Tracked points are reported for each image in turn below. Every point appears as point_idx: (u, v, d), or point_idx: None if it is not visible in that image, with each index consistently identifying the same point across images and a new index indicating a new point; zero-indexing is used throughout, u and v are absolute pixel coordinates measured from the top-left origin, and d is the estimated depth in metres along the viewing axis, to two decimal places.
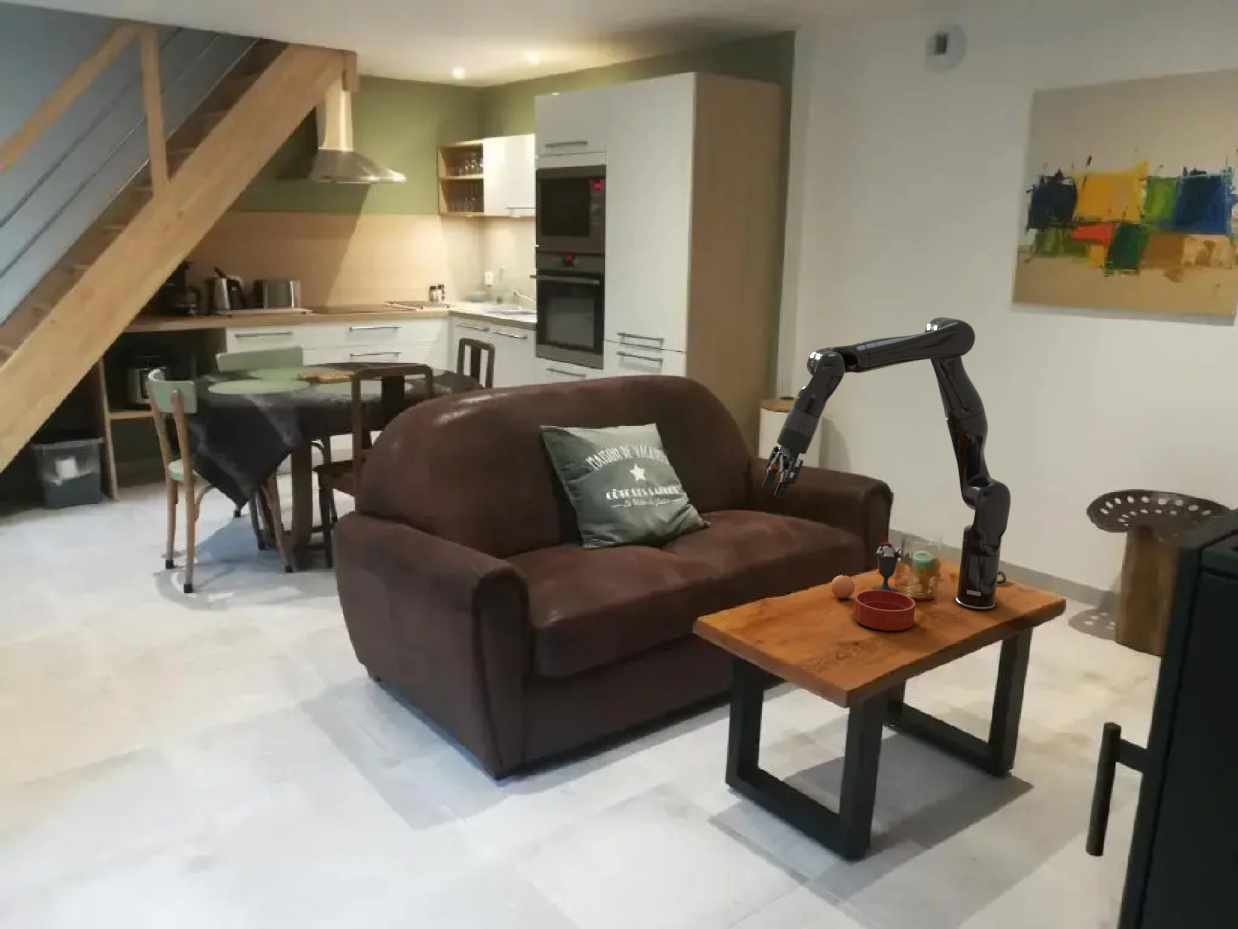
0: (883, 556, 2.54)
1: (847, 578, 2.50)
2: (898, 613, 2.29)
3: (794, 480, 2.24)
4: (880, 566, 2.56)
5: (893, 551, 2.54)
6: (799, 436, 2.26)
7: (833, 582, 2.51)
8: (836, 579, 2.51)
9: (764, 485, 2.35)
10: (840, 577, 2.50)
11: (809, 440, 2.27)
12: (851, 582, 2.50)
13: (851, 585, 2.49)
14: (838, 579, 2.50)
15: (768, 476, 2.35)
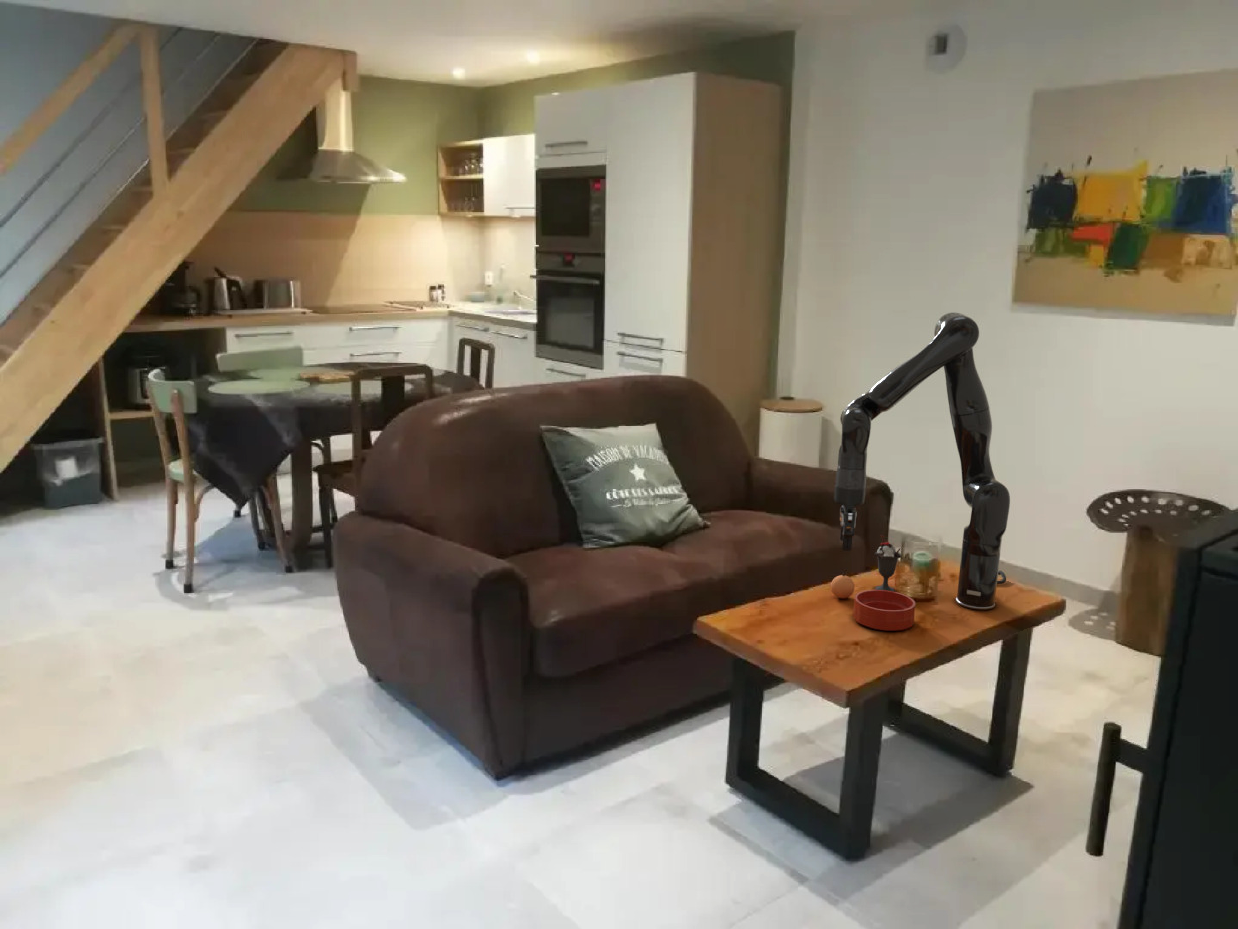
0: (883, 556, 2.54)
1: (847, 578, 2.50)
2: (898, 613, 2.29)
3: (852, 533, 2.41)
4: (880, 566, 2.56)
5: (893, 551, 2.54)
6: (847, 491, 2.42)
7: (833, 582, 2.51)
8: (836, 579, 2.51)
9: (841, 538, 2.53)
10: (840, 577, 2.50)
11: (860, 492, 2.42)
12: (851, 582, 2.50)
13: (851, 585, 2.49)
14: (838, 579, 2.50)
15: (842, 529, 2.52)
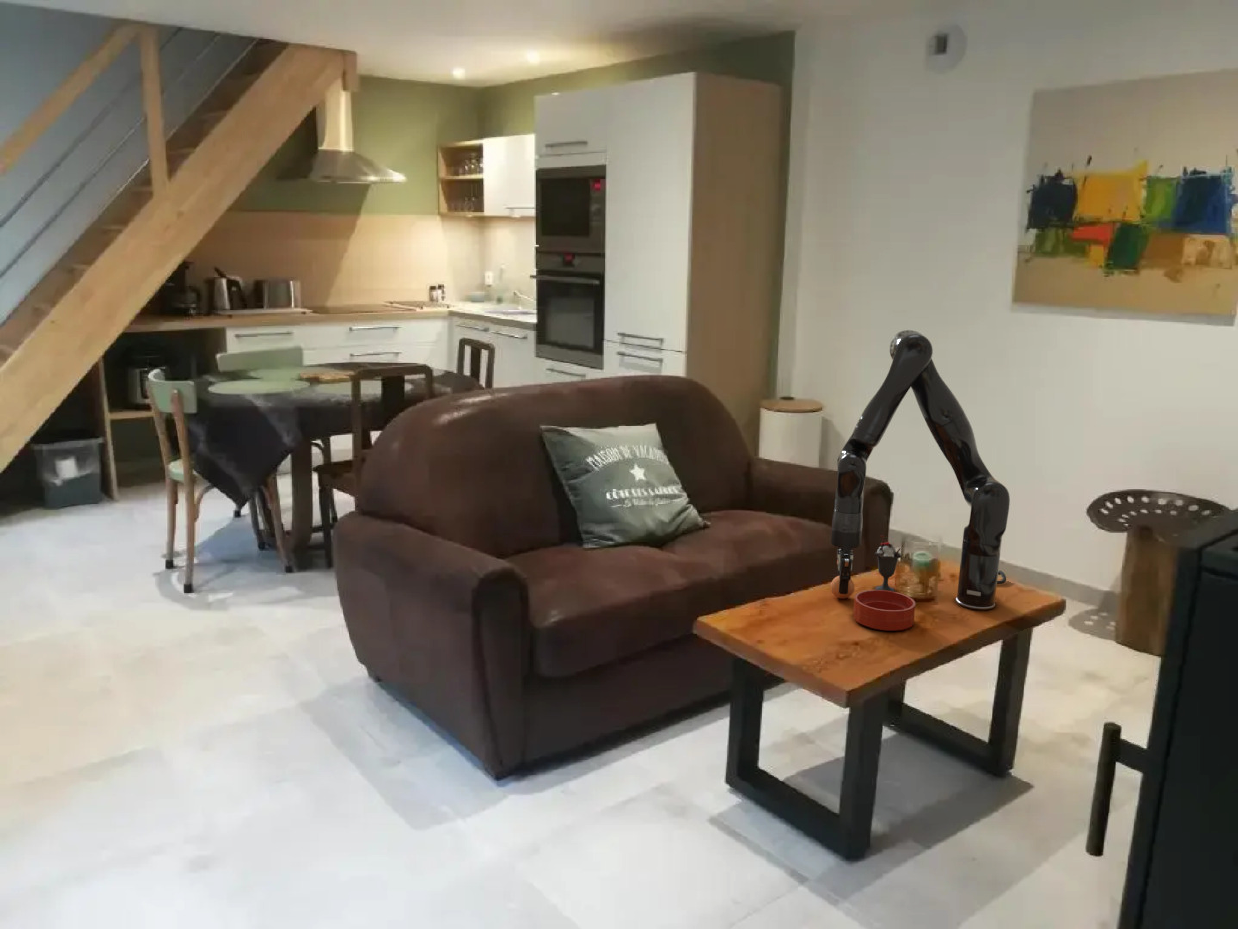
0: (883, 556, 2.54)
1: None
2: (898, 613, 2.29)
3: (848, 577, 2.45)
4: (880, 566, 2.56)
5: (893, 551, 2.54)
6: (844, 535, 2.45)
7: (833, 582, 2.51)
8: (836, 579, 2.51)
9: None
10: None
11: (856, 535, 2.45)
12: (851, 582, 2.50)
13: (851, 585, 2.49)
14: (838, 579, 2.50)
15: (839, 574, 2.54)
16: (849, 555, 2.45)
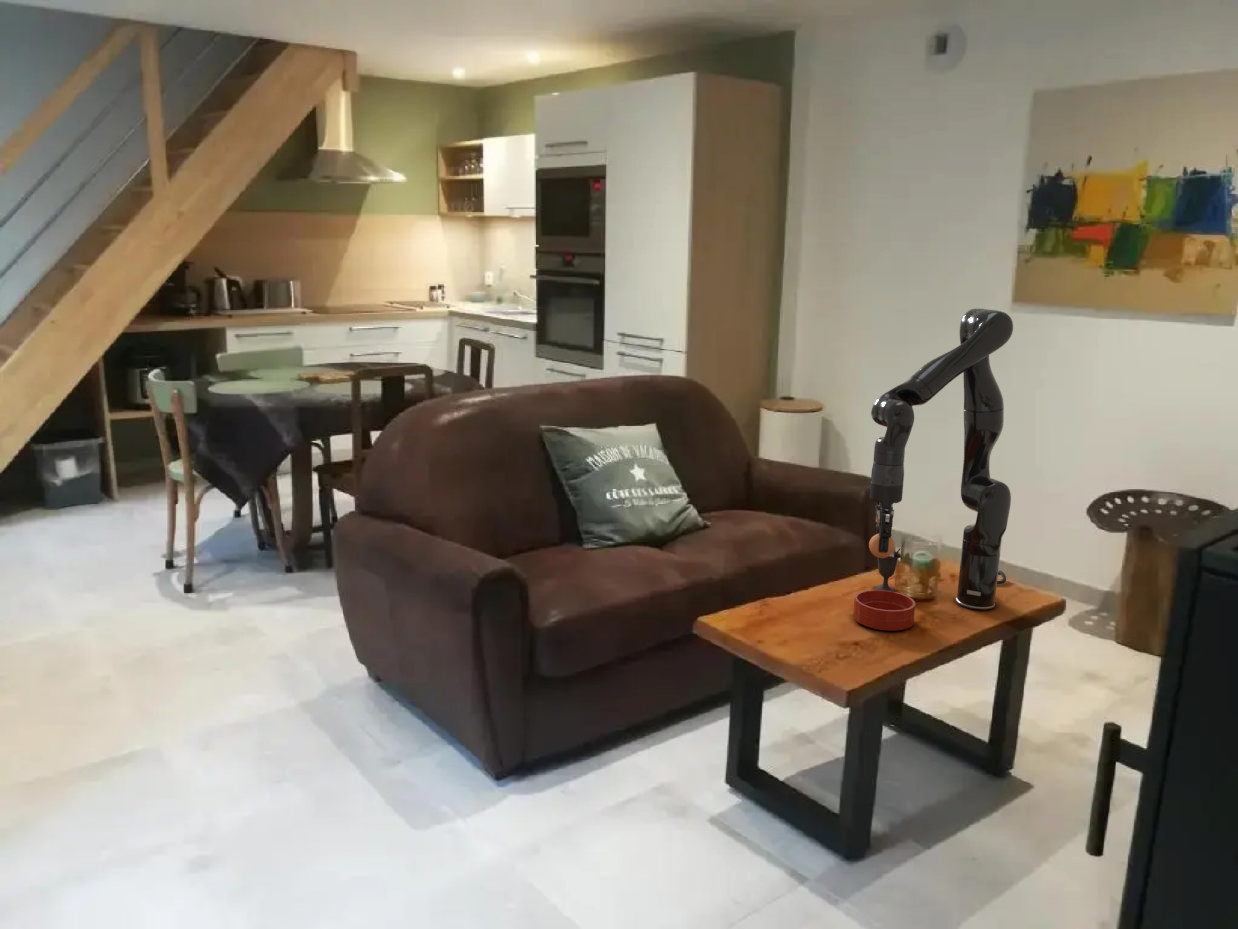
0: None
1: None
2: (898, 613, 2.29)
3: (889, 534, 2.28)
4: (880, 566, 2.56)
5: (893, 551, 2.54)
6: (884, 488, 2.29)
7: (872, 540, 2.35)
8: (875, 537, 2.34)
9: None
10: None
11: (897, 489, 2.29)
12: (891, 540, 2.34)
13: (891, 543, 2.33)
14: (878, 537, 2.34)
15: (878, 532, 2.38)
16: (890, 510, 2.29)
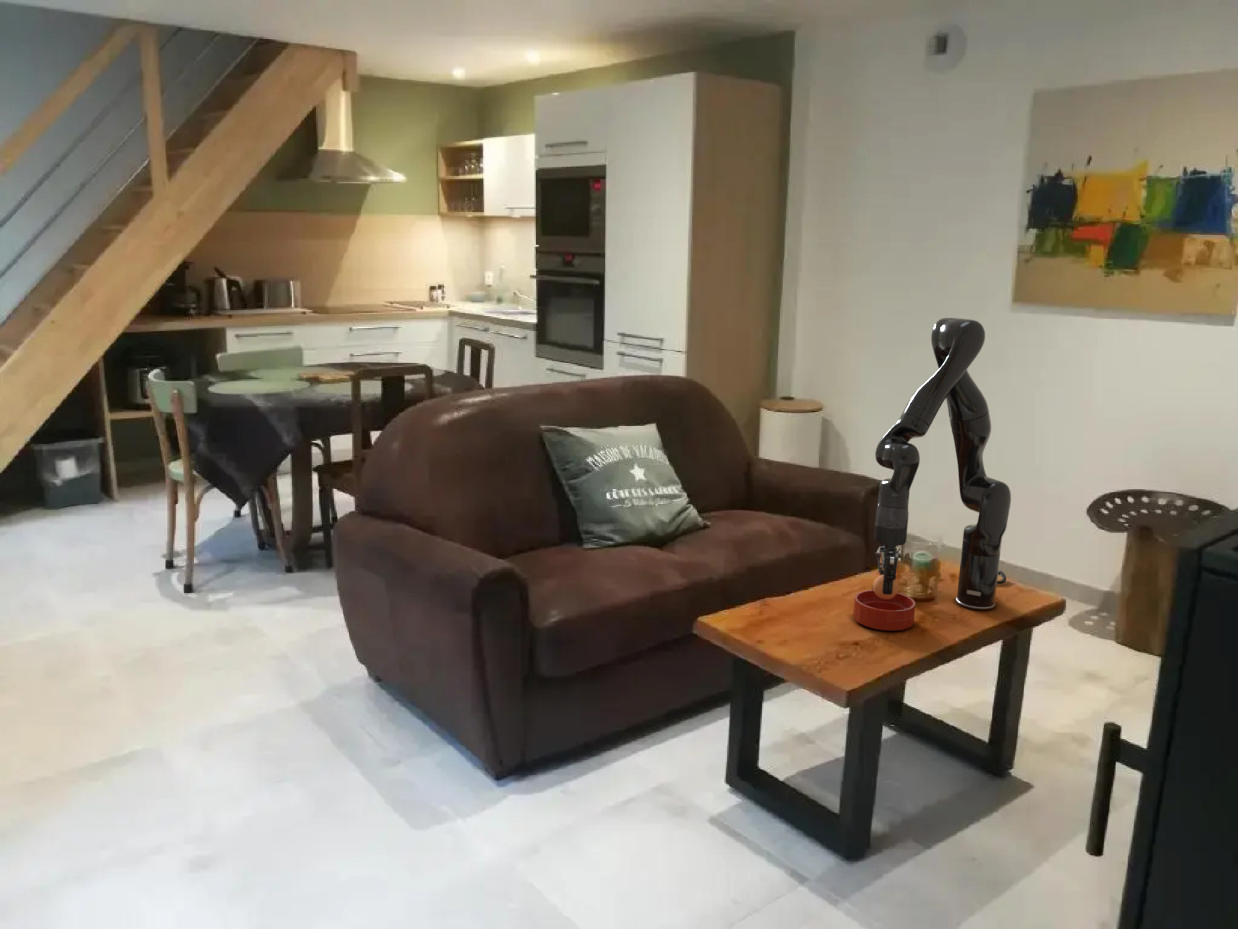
0: None
1: None
2: (898, 613, 2.29)
3: (894, 577, 2.28)
4: None
5: None
6: (889, 531, 2.28)
7: (876, 582, 2.34)
8: (879, 579, 2.34)
9: None
10: None
11: (902, 531, 2.28)
12: (895, 582, 2.33)
13: (895, 585, 2.33)
14: (882, 578, 2.33)
15: (882, 573, 2.37)
16: (894, 553, 2.29)
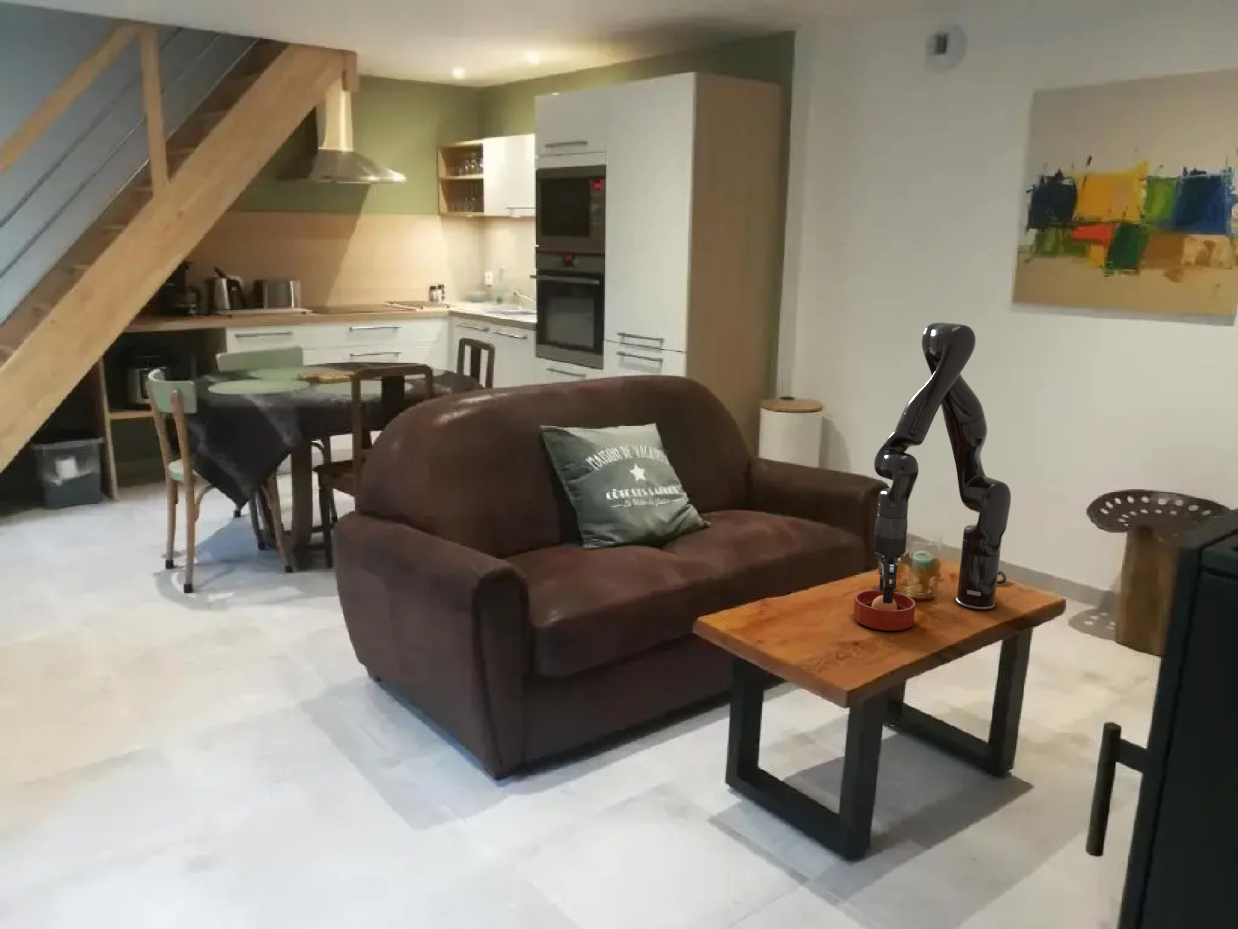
0: None
1: None
2: (898, 613, 2.29)
3: (894, 585, 2.28)
4: None
5: None
6: (888, 541, 2.29)
7: (874, 603, 2.35)
8: (877, 599, 2.35)
9: (880, 588, 2.39)
10: (882, 597, 2.35)
11: (901, 541, 2.29)
12: (894, 603, 2.34)
13: (894, 606, 2.34)
14: (880, 599, 2.35)
15: (881, 579, 2.39)
16: (894, 563, 2.29)
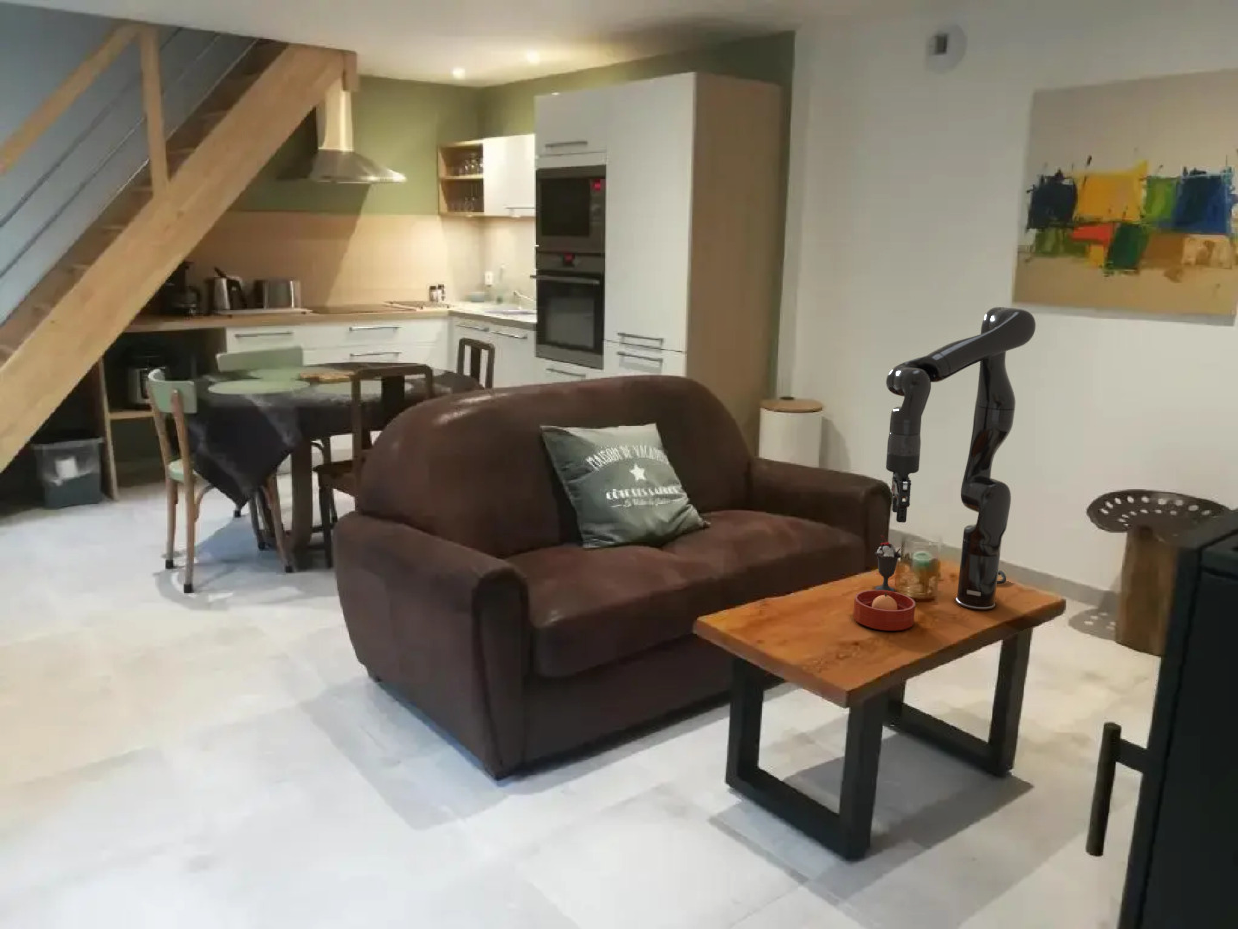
0: (883, 556, 2.54)
1: (890, 598, 2.35)
2: (898, 613, 2.29)
3: (908, 503, 2.25)
4: (880, 566, 2.56)
5: (893, 551, 2.54)
6: (901, 458, 2.26)
7: (874, 602, 2.35)
8: (878, 599, 2.35)
9: (893, 509, 2.37)
10: (882, 597, 2.35)
11: (914, 459, 2.26)
12: (894, 603, 2.34)
13: (894, 606, 2.34)
14: (880, 599, 2.35)
15: (894, 500, 2.36)
16: (907, 481, 2.27)
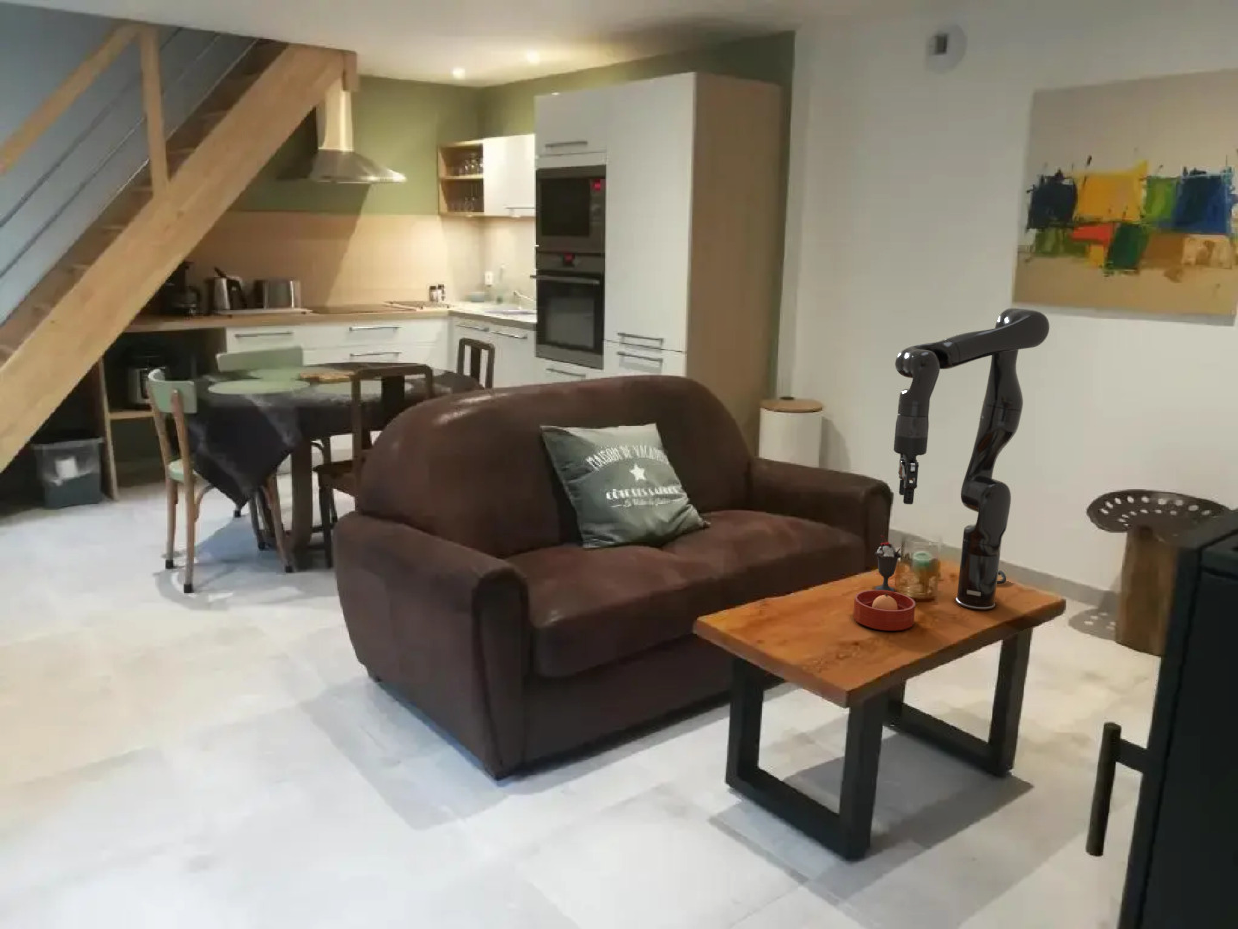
0: (883, 556, 2.54)
1: (890, 599, 2.35)
2: (898, 613, 2.29)
3: (915, 484, 2.25)
4: (880, 566, 2.56)
5: (893, 551, 2.54)
6: (909, 440, 2.27)
7: (875, 602, 2.35)
8: (878, 599, 2.35)
9: (900, 492, 2.37)
10: (883, 597, 2.35)
11: (922, 440, 2.27)
12: (894, 603, 2.34)
13: (894, 606, 2.34)
14: (881, 599, 2.35)
15: (901, 483, 2.37)
16: (914, 462, 2.27)
